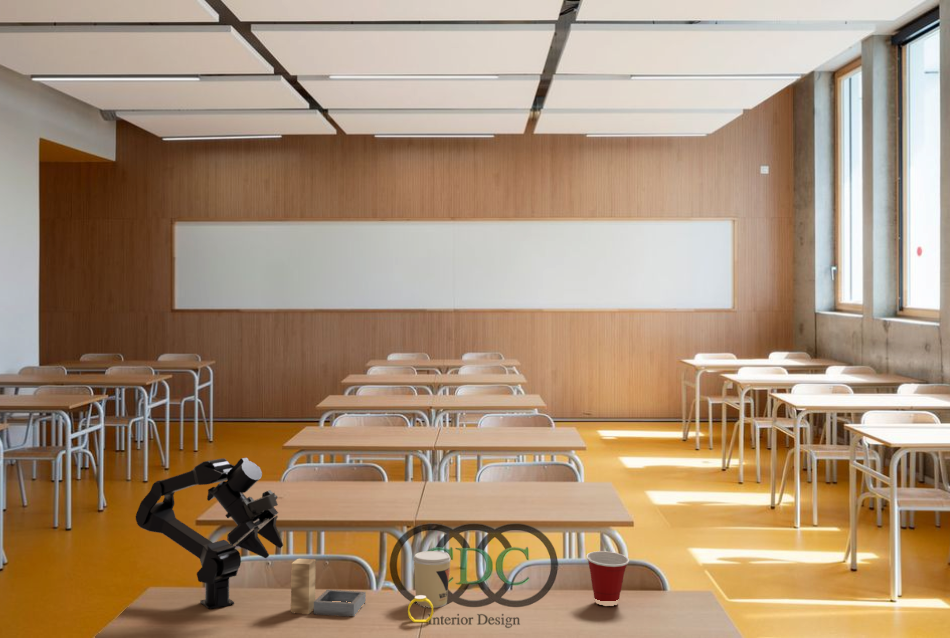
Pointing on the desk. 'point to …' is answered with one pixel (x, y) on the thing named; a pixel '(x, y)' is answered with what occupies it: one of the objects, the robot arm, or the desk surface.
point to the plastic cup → (607, 574)
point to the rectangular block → (303, 585)
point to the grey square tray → (339, 603)
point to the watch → (419, 599)
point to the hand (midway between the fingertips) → (274, 551)
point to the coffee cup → (432, 577)
